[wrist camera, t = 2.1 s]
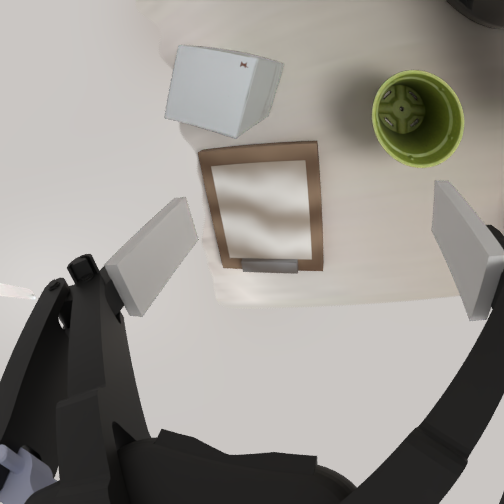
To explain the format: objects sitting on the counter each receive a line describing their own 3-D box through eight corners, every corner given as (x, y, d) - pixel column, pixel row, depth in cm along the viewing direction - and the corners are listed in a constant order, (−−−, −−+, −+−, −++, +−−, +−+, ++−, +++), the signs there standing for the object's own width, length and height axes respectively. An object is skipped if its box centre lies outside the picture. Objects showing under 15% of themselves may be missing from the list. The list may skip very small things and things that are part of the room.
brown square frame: (202, 149, 39) (194, 154, 37) (317, 140, 34) (316, 145, 32) (226, 262, 48) (221, 271, 46) (323, 264, 44) (322, 275, 42)
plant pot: (451, 110, 27) (481, 123, 20) (404, 162, 33) (421, 187, 26) (394, 55, 26) (412, 49, 19) (347, 110, 31) (351, 121, 24)
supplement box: (226, 48, 30) (177, 41, 20) (286, 63, 30) (261, 57, 20) (212, 102, 35) (161, 118, 25) (268, 118, 34) (237, 140, 24)
